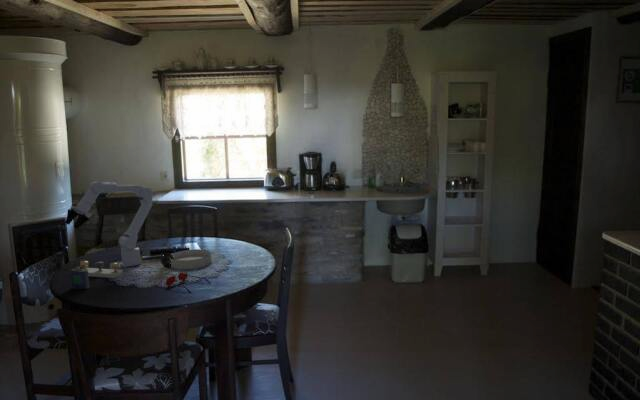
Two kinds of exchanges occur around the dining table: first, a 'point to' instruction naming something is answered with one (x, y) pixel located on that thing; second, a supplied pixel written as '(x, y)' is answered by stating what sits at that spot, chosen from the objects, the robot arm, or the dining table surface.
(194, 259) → the dish
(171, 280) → the glasses
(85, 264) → the brass knob
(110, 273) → the mount board
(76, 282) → the flask
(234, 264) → the dining table surface
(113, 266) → the brass knob
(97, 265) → the graphite knob
